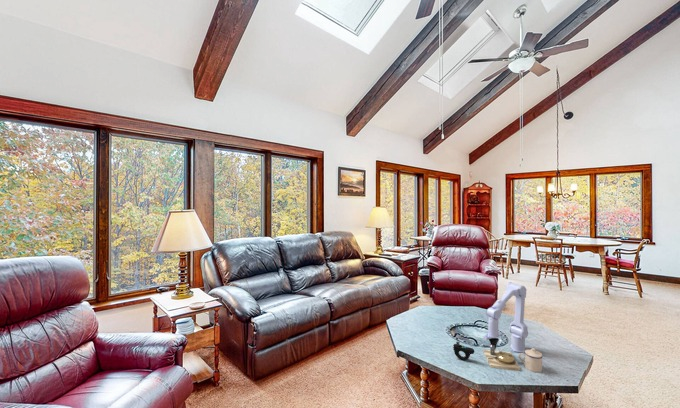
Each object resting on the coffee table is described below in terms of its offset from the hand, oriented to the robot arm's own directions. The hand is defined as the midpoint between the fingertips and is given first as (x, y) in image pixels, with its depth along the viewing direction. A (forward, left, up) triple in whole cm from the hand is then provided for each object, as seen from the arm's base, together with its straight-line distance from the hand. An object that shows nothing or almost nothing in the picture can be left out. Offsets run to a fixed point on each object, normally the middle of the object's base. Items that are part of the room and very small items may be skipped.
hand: (493, 349), depth 189 cm
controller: (+6, -18, -6) cm, 20 cm away
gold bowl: (+4, +4, -4) cm, 7 cm away
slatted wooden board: (+2, +4, -6) cm, 7 cm away
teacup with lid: (+7, +19, -6) cm, 21 cm away
